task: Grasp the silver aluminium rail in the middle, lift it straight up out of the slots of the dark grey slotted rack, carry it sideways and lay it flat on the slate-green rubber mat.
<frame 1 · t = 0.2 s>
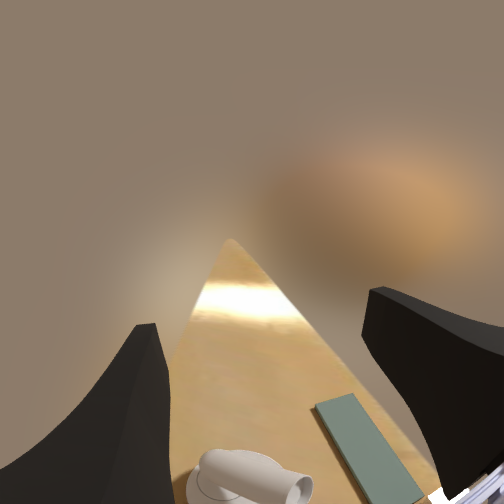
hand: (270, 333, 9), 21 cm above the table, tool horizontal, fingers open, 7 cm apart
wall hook: (246, 503, 19), on the table
rubber mat: (365, 452, 23), on the table
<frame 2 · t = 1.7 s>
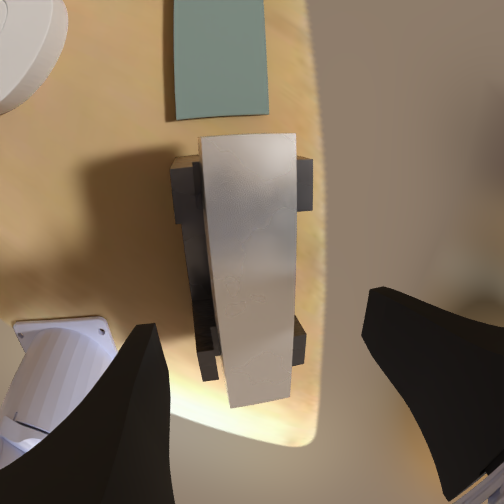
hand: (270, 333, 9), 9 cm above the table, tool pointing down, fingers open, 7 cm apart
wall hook: (15, 54, 10), on the table
dark grey slotted rack: (229, 239, 17), on the table
silver rail: (242, 269, 14), point 4 cm above the table, touching dark grey slotted rack
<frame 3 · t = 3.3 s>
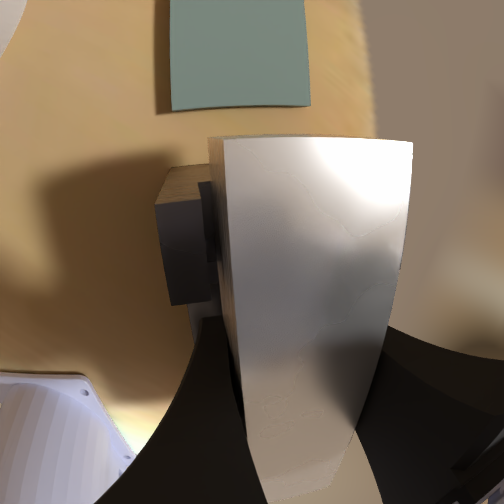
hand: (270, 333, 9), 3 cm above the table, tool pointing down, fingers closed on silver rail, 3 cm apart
dark grey slotted rack: (249, 283, 13), on the table
silver rail: (275, 344, 9), point 4 cm above the table, touching gripper, dark grey slotted rack
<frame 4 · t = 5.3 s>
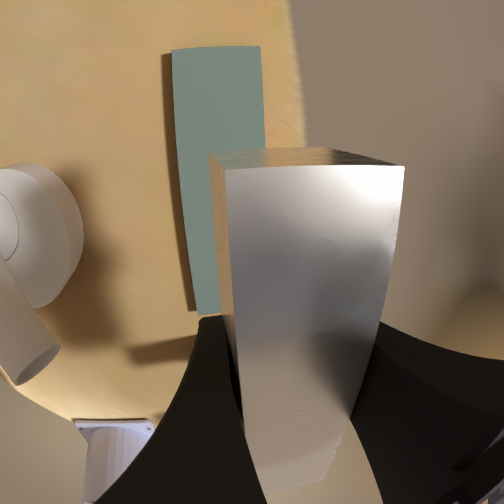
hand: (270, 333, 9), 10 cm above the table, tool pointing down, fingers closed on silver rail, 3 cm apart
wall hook: (35, 236, 15), on the table
silver rail: (272, 345, 9), point 10 cm above the table, touching gripper
rubber mat: (223, 184, 17), on the table
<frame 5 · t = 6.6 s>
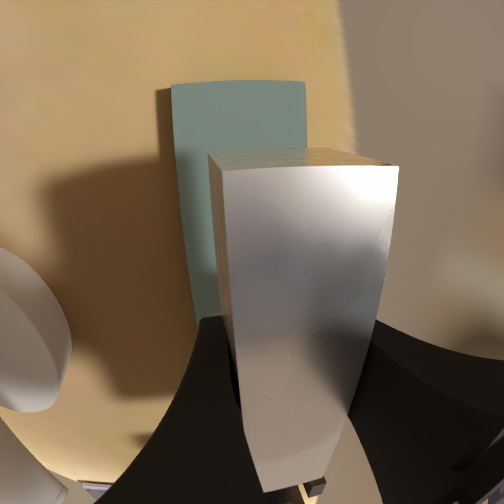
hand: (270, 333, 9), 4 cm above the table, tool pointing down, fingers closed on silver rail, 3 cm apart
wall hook: (13, 327, 11), on the table
dark grey slotted rack: (257, 453, 19), on the table
silver rail: (271, 342, 10), point 4 cm above the table, touching gripper
rubber mat: (247, 280, 13), on the table
when the fingers open (2 cm above the table, at t = 7.7 s): silver rail drops 2 cm, resting on rubber mat.
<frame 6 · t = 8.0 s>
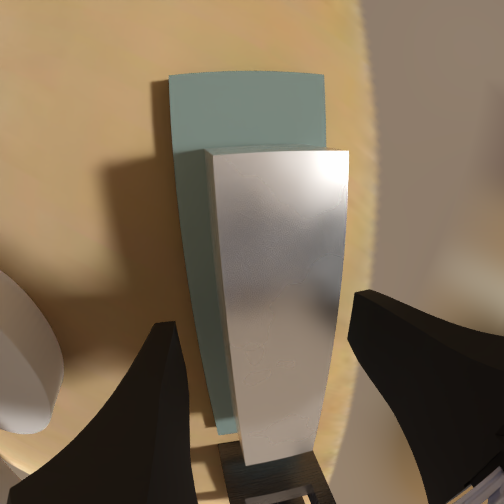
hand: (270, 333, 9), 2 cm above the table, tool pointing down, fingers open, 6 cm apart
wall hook: (2, 344, 10), on the table
dark grey slotted rack: (262, 469, 17), on the table
silver rail: (260, 314, 11), point 1 cm above the table, touching rubber mat
rubber mat: (255, 298, 11), on the table
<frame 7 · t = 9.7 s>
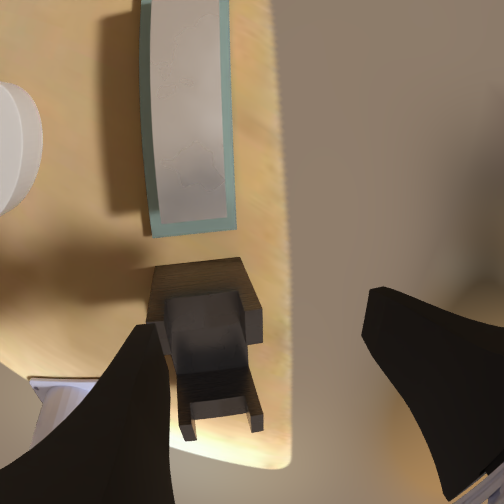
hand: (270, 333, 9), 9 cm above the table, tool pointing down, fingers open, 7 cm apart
dark grey slotted rack: (206, 328, 20), on the table
silver rail: (186, 95, 14), point 1 cm above the table, touching rubber mat
rubber mat: (185, 90, 14), on the table
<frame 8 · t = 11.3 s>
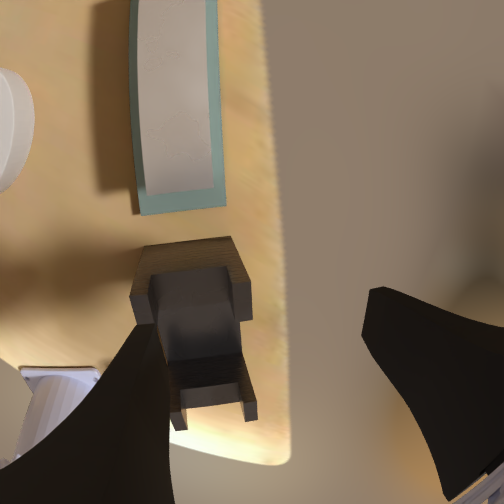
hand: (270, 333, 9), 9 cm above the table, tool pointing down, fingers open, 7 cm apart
dark grey slotted rack: (197, 312, 19), on the table
silver rail: (174, 72, 13), point 1 cm above the table, touching rubber mat
rubber mat: (173, 69, 14), on the table
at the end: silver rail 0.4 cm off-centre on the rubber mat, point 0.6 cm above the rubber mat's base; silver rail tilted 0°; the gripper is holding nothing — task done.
